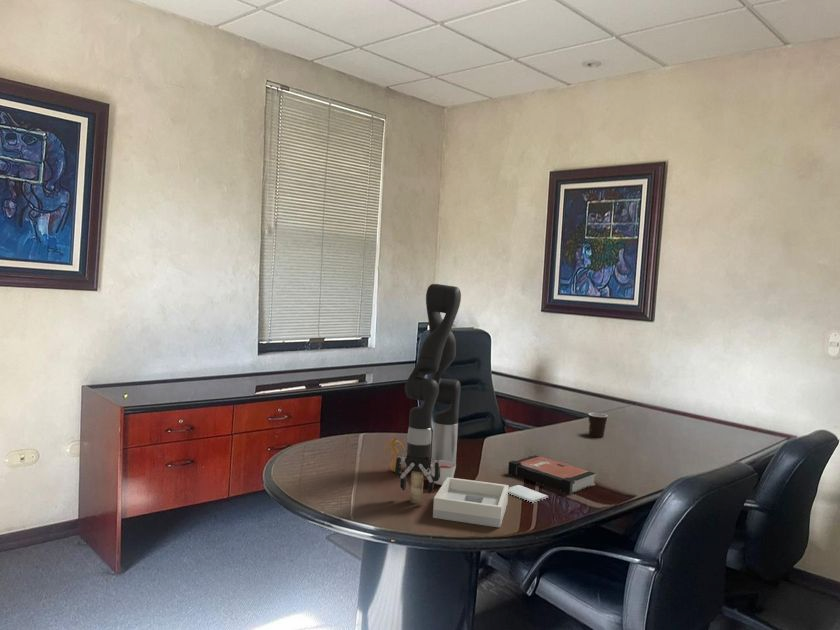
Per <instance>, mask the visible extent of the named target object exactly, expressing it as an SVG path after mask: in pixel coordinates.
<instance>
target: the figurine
mask: <svg viewBox="0 0 840 630" xmlns="http://www.w3.org/2000/svg"><path fill="white" fill-rule="evenodd" d="M389 444H390V445H391V446H390V447H391V448H390V453H391V460H392V461H391V462H390V463H389V469H390V471H392V472H393V473H395V468H396V459H397V458H398V457H399V451H398V447H397V444H400V446H401V447H402V448H403V450H404V451H406V450H405V449H406V448H405V447H404V445H403V444H402V442H401V441H399V440H397V439H396V437H393V438H390V440H388V441H387V442H386V443H385V444H384V448H383V453H386V448H387V445H389ZM394 454H395V459H394Z"/></svg>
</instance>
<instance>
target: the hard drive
mask: <svg viewBox="0 0 840 630" xmlns="http://www.w3.org/2000/svg"><path fill="white" fill-rule="evenodd" d="M508 493H509V494H508V495H510V494H511V495H510V496H512V495H514V496H513V497H515V496H517V497H519V498H518V499H520V498H522V499H524V500H523V501H525V500H527V501H526V502H528V501H529V502H528V503H530V502H532V503H531V504H535V503H534V502H536V503H538V502H537V501H539V502H541V501H540V500H542V501H544V500H543V499H545V500H547V499H546V498H548V499H549V495H547V494H544V493H541V492H540V491H536V490H534V489H531V488H528V487H525V486H523V485H520V484H517V485H513V486H510V487H509V488H508ZM517 497H516V498H517ZM522 499H521V500H522Z"/></svg>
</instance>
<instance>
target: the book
mask: <svg viewBox="0 0 840 630" xmlns="http://www.w3.org/2000/svg"><path fill="white" fill-rule="evenodd" d="M507 470H508V471H507V474H508V473H509V474H508V475H510V474H512V475H511V476H513V475H517V476H516V477H518V476H520V477H519V478H521V477H523V478H522V479H524V478H526V479H525V480H527V479H529V480H528V481H530V480H531V481H530V482H533V481H534V482H533V483H535V482H538V483H540V484H539V485H541V484H544V485H546V486H545V487H547V486H549V487H548V488H550V487H552V488H551V489H553V488H555V489H554V490H556V489H557V491H559V490H561V491H560V492H561V493H563V492H565V493H564V494H566V493H567V495H569V494H570V495H572V494H571V493H573V494H574V492H575V493H577V491H578V492H580V491H583V490H585V488H586V489H588V488H590V486H591V487H594V486H596V484H597V483H595V477H596V476H597V473H595V472H593V471H589V470H586V469H583V468H580V467H576V466H573V465H570V464H569V463H568V462H565V461H564V462H563V461H560V462H559V461H556V460H554V459H549V458H546V457H542V456H540V455H533V456H529V457H526V458H521V459H519V460H510V461H509V462H508V468H507ZM538 483H537V484H538ZM544 485H543V486H544ZM587 487H588V488H587ZM582 489H583V490H582Z"/></svg>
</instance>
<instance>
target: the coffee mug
mask: <svg viewBox="0 0 840 630" xmlns="http://www.w3.org/2000/svg"><path fill="white" fill-rule="evenodd" d="M587 415H588V434H589V436H590V437H591V438H596V439H597V438H598V439H602V438H604V437H605V430H606V426H607V420H608V414H605V413H602V412H601V413H599V412H589V413H588V414H587Z"/></svg>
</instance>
